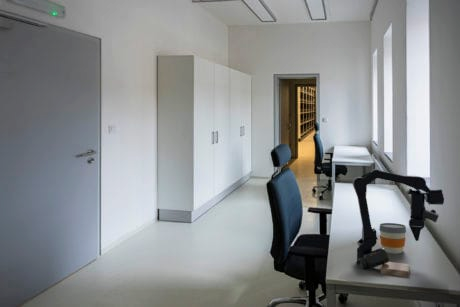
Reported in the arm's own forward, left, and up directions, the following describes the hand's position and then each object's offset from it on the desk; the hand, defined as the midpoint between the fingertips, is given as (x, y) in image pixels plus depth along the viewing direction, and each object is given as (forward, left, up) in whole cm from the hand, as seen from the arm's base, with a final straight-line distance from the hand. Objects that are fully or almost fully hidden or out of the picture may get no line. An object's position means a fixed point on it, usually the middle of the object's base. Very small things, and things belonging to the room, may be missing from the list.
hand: (417, 238), depth 185 cm
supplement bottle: (-12, -10, -6) cm, 17 cm away
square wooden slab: (-8, -11, -14) cm, 19 cm away
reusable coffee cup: (-12, +17, -13) cm, 25 cm away
